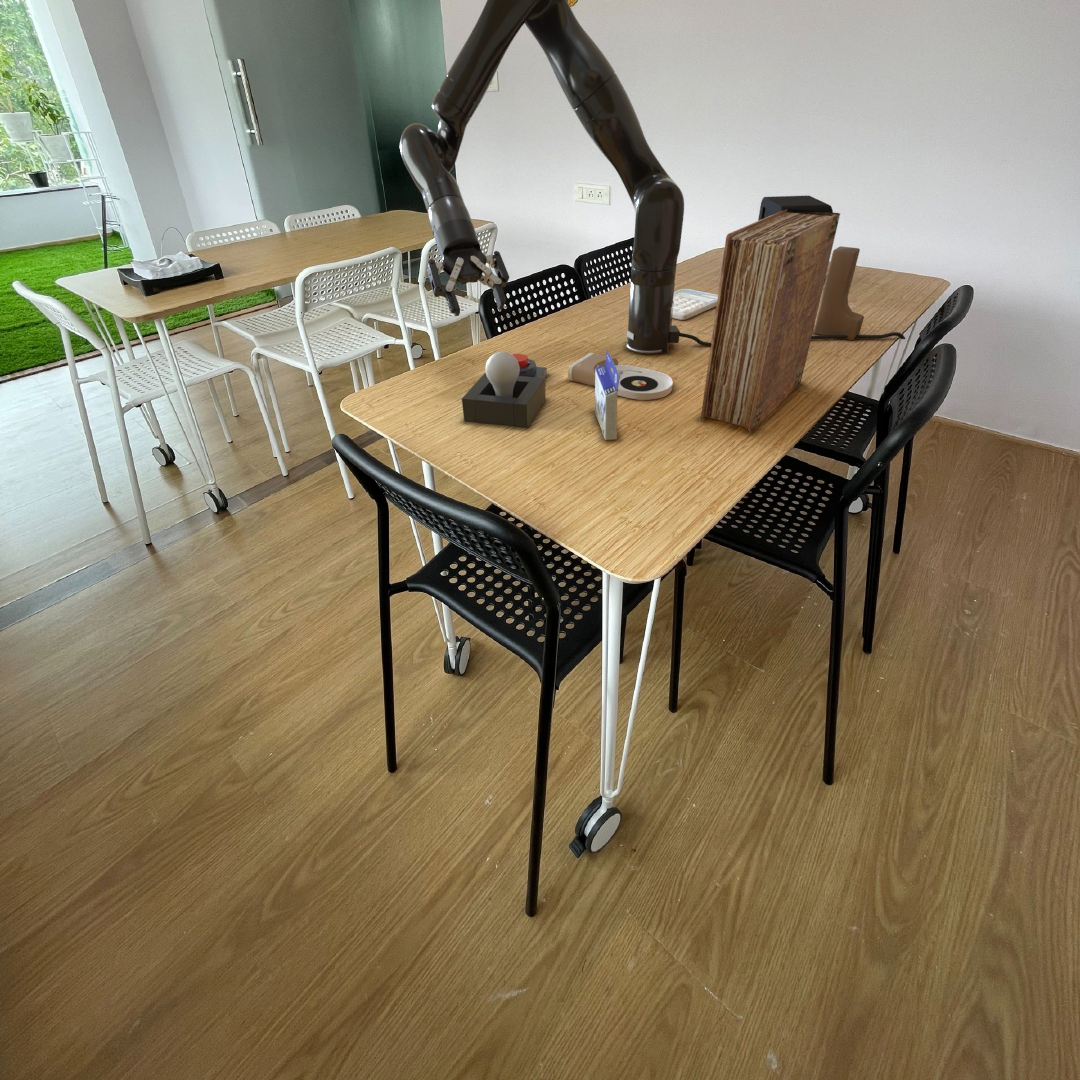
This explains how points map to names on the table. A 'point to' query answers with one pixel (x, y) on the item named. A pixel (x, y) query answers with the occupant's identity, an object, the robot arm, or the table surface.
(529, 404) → the socket
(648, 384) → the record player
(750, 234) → the book
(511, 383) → the lightbulb
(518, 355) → the button
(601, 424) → the ink box
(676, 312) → the calculator
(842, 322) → the wooden block
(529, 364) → the switch
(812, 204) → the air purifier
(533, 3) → the robot arm
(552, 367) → the table surface
